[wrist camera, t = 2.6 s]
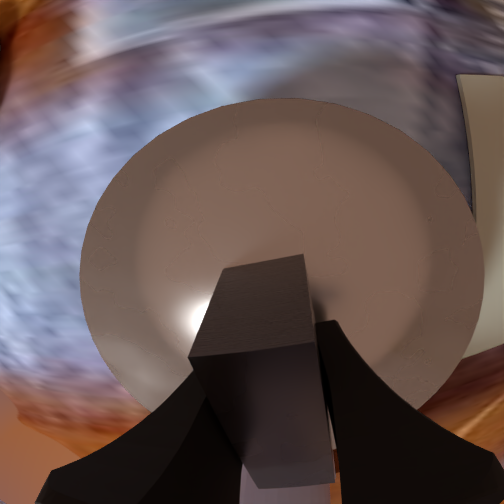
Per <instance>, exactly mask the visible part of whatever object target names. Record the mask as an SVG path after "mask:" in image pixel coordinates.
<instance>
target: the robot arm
mask: <svg viewBox="0 0 504 504" xmlns="http://www.w3.org/2000/svg"><path fill="white" fill-rule="evenodd" d="M316 331H317V340H318V347H319V353H320V359H321V366H322V372H323V379H324V385H325V392H326V399H327V406H328V411H329V415H330V420H331V425H332V429H333V434H334V439H335V444H336V449H337V454H338V461H339V469H340V482H341V495H342V504H500V503H501V502H502V501H503V500H504V469H503V468H502V466H501V464H500V462H499V461H498V459H497V458H496V456H495V454H494V453H493V452H490V451H488V450H485V449H483V448H481V447H479V446H476V445H474V444H472V443H470V442H468V441H466V440H464V439H462V438H460V437H458V436H457V435H455V434H453V433H451V432H450V431H448V430H446V429H444V428H443V427H441V426H440V425H438V424H437V423H435V422H434V421H432V420H431V419H429V418H428V417H426V416H425V415H423V414H422V413H421V412H419V411H418V410H416V409H415V408H414V407H412V406H411V405H410V404H409V403H407V402H406V401H405V400H404V399H402V398H401V397H400V396H399V395H398V394H397V393H396V392H394V391H393V390H392V389H391V388H390V387H389V386H388V385H387V384H386V383H385V382H384V381H383V380H382V379H381V378H380V377H379V376H378V375H377V374H376V373H375V372H374V371H373V370H372V369H371V367H370V366H369V365H368V364H367V363H366V362H365V361H364V359H363V358H362V357H361V356H360V354H359V353H358V352H357V351H356V349H355V348H354V347H353V345H352V344H351V343H350V341H349V340H348V338H347V337H346V335H345V334H344V332H343V330H342V329H341V327H340V325H339V323H338V321H336V320H335V319H334V320H328V321H323V322H317V323H316ZM333 462H334V456H333ZM334 476H335V478H336V473H335V464H334ZM0 504H5V503H4V502H3V501H1V500H0ZM35 504H330V485H329V483H328V484H320V485H311V486H301V487H289V488H272V489H258V488H257V486H256V484H255V483H254V481H253V480H252V478H251V476H250V475H249V473H248V471H247V470H246V468H245V466H244V464H243V463H242V461H241V459H240V458H239V456H238V454H237V452H236V451H235V449H234V447H233V445H232V444H231V442H230V440H229V438H228V436H227V435H226V433H225V431H224V429H223V427H222V425H221V423H220V422H219V420H218V418H217V416H216V414H215V412H214V410H213V408H212V406H211V404H210V402H209V400H208V398H207V397H206V395H205V393H204V391H203V389H202V386H201V384H200V382H199V380H198V378H197V376H196V374H195V372H194V370H193V371H192V372H191V373H190V374H189V376H188V377H187V378H186V379H185V380H184V381H183V382H182V383H181V384H180V385H179V387H178V388H177V389H176V390H175V391H174V392H173V393H172V394H171V395H170V396H169V397H168V398H167V399H166V400H165V401H164V402H163V403H162V404H161V405H160V406H159V407H158V408H157V409H155V410H154V411H153V412H152V413H151V414H150V415H148V416H147V417H146V418H145V419H144V420H142V421H141V422H140V423H139V424H137V425H136V426H134V427H133V428H132V429H130V430H129V431H127V432H126V433H125V434H123V435H122V436H120V437H119V438H117V439H116V440H114V441H113V442H111V443H109V444H108V445H106V446H104V447H103V448H101V449H99V450H97V451H95V452H93V453H92V454H90V455H88V456H86V457H83V458H81V459H79V460H77V461H74V462H72V463H70V464H67V465H65V466H62V467H60V468H57V469H54V470H52V471H51V472H50V474H49V476H48V478H47V480H46V482H45V484H44V485H43V487H42V489H41V491H40V493H39V495H38V497H37V499H36V501H35Z"/></svg>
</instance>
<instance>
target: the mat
mask: <svg viewBox="0 0 504 504" xmlns="http://www.w3.org/2000/svg"><path fill="white" fill-rule="evenodd" d="M456 79H457V84H458V88H459V93H460V98H461V103H462V108H463V114H464V120H465V127H466V134H467V141H468V150H469V159H470V170H471V185H472V211H473V217H474V220H475V222H476V225H477V229H478V232H479V236H480V240H481V244H482V249H483V258H484V270H485V278H484V294H483V301H482V306H481V311H480V315H479V320H478V322H477V325H476V328H475V331H474V334H473V337H472V339H471V341H470V343H469V345H468V347H467V349H466V351H465V353H464V355H463V357H462V359H463V358H466V357H469V356H472V355H475V354H477V353H480V352H483V351H486V350H488V349H491V348H493V347H496V346H499V345H501V344H504V76H490V75H456Z"/></svg>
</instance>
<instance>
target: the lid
mask: <svg viewBox="0 0 504 504" xmlns="http://www.w3.org/2000/svg"><path fill="white" fill-rule="evenodd" d="M484 278H485V270H484V258H483V249H482V244H481V240H480V236H479V232H478V229H477V225H476V222H475V220H474V217H473V215H472V213H471V210H470V208H469V206H468V204H467V201H466V199H465V197H464V196H463V194H462V193H461V191H460V190H459V188H458V187H457V185H456V183H455V182H454V181H453V179H452V178H451V176H450V175H449V173H448V172H447V171H446V170H445V169H444V168H443V167H442V166H441V165H440V163H439V162H438V161H437V160H436V159H435V158H434V157H433V156H432V155H431V154H430V153H429V152H428V151H427V150H426V149H424V148H423V147H422V146H421V145H419V144H418V143H417V142H415V141H414V140H413V139H411V138H410V137H409V136H407V135H406V134H405V133H403V132H402V131H400V130H398V129H397V128H395V127H393V126H391V125H389V124H387V123H385V122H383V121H381V120H379V119H377V118H375V117H373V116H371V115H369V114H366V113H363V112H360V111H357V110H354V109H351V108H348V107H344V106H341V105H338V104H334V103H328V102H321V101H314V100H307V99H299V98H281V99H258V100H252V101H246V102H241V103H236V104H230V105H226V106H221V107H219V108H216V109H213V110H210V111H207V112H205V113H202V114H199V115H196V116H194V117H191V118H189V119H187V120H185V121H183V122H181V123H179V124H178V125H176V126H174V127H172V128H170V129H169V130H167V131H165V132H163V133H162V134H160V135H158V136H157V137H156V138H155V139H153V140H152V141H151V142H149V143H148V144H147V145H146V146H144V147H143V148H142V149H141V150H140V151H138V152H137V153H136V154H135V155H133V156H132V158H131V159H130V160H129V161H128V162H127V163H126V164H125V165H124V166H123V168H122V169H121V170H120V171H119V172H118V173H117V174H116V175H115V177H114V178H113V179H112V181H111V182H110V184H109V185H108V187H107V188H106V190H105V192H104V193H103V195H102V196H101V198H100V200H99V201H98V203H97V205H96V208H95V210H94V212H93V215H92V217H91V219H90V222H89V224H88V227H87V231H86V234H85V239H84V243H83V247H82V251H81V262H80V291H81V300H82V305H83V310H84V315H85V319H86V322H87V325H88V328H89V330H90V333H91V336H92V339H93V341H94V343H95V345H96V347H97V349H98V351H99V353H100V355H101V357H102V358H103V360H104V361H105V363H106V364H107V366H108V367H109V369H110V370H111V372H112V373H113V375H114V376H115V377H116V378H117V380H118V381H119V382H120V383H121V384H122V386H123V387H124V388H125V389H126V390H127V391H128V392H129V393H130V394H131V395H132V396H133V397H134V398H135V399H136V400H137V401H138V402H139V403H140V404H141V405H143V406H144V407H145V408H147V409H148V410H149V411H150V412H153V411H154V410H155V409H157V408H158V407H159V406H160V405H161V404H162V403H163V402H164V401H165V400H166V399H167V398H168V397H169V396H170V395H171V394H172V393H173V392H174V391H175V390H176V389H177V388H178V387H179V385H180V384H181V383H182V382H183V381H184V380H185V379H186V378H187V377H188V376H189V374H190V373H191V372H192V371H193V370H194V372H195V374H196V376H197V378H198V380H199V382H200V384H201V386H202V389H203V391H204V393H205V395H206V397H207V398H208V400H209V402H210V404H211V406H212V408H213V410H214V412H215V414H216V416H217V418H218V420H219V422H220V423H221V425H222V427H223V429H224V431H225V433H226V435H227V436H228V438H229V440H230V442H231V444H232V445H233V447H234V449H235V451H236V452H237V454H238V456H239V458H240V459H241V461H242V463H243V464H244V466H245V468H246V470H247V471H248V473H249V475H250V476H251V478H252V480H253V481H254V483H255V484H256V486H257V488H258V489H272V488H289V487H301V486H311V485H320V484H328V483H335V476H334V462H333V449H336V444H335V439H334V434H333V429H332V425H331V420H330V415H329V411H328V406H327V399H326V392H325V385H324V379H323V372H322V366H321V359H320V353H319V347H318V340H317V331H316V323H317V322H323V321H328V320H334V319H335V320H336V321H338V323H339V325H340V327H341V329H342V330H343V332H344V334H345V335H346V337H347V338H348V340H349V341H350V343H351V344H352V345H353V347H354V348H355V349H356V351H357V352H358V353H359V354H360V356H361V357H362V358H363V359H364V361H365V362H366V363H367V364H368V365H369V366H370V367H371V369H372V370H373V371H374V372H375V373H376V374H377V375H378V376H379V377H380V378H381V379H382V380H383V381H384V382H385V383H386V384H387V385H388V386H389V387H390V388H391V389H392V390H393V391H394V392H396V393H397V394H398V395H399V396H400V397H401V398H402V399H404V400H405V401H406V402H407V403H409V404H410V405H411V406H412V407H414V408H415V409H416V410H417V409H418V408H420V407H421V406H422V405H423V404H424V403H425V402H426V401H428V400H429V399H430V398H431V397H432V396H433V395H434V394H435V393H436V392H437V391H438V390H439V389H440V387H441V386H442V385H443V384H444V383H445V382H446V380H447V379H448V378H449V377H450V375H451V374H452V373H453V371H454V370H455V368H456V367H457V365H458V364H459V362H460V361H461V359H462V357H463V355H464V353H465V351H466V349H467V347H468V345H469V343H470V341H471V339H472V337H473V334H474V331H475V328H476V325H477V322H478V320H479V315H480V311H481V306H482V301H483V294H484Z"/></svg>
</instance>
